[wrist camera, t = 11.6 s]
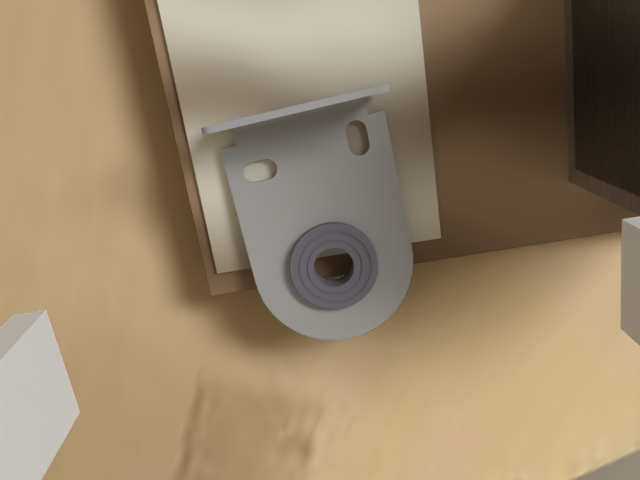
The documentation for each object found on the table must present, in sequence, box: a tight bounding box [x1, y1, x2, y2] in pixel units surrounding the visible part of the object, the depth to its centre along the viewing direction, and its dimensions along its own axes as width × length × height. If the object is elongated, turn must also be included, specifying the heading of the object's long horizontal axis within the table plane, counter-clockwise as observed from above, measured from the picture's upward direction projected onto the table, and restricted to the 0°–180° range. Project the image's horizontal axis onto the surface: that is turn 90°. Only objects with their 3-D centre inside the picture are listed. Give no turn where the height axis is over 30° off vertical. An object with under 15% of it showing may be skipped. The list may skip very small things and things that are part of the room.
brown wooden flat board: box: [144, 0, 639, 296], centre depth 24 cm, size 14×22×2 cm, turn 99°
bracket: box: [201, 83, 413, 340], centre depth 23 cm, size 7×10×4 cm, turn 13°
